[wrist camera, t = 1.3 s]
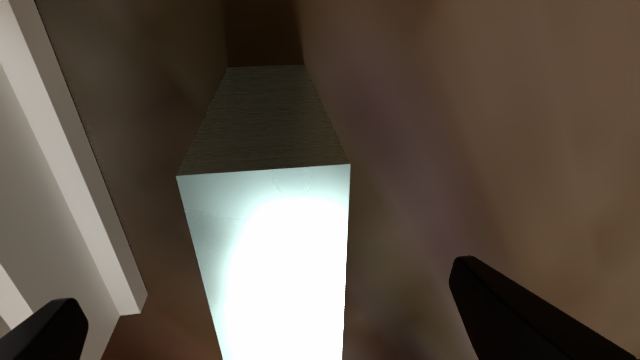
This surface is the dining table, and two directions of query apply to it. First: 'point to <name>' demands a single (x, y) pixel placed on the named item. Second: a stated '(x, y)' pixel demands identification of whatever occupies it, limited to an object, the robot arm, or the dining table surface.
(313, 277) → the metal block
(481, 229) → the dining table surface
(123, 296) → the rack
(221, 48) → the dining table surface
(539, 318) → the robot arm
